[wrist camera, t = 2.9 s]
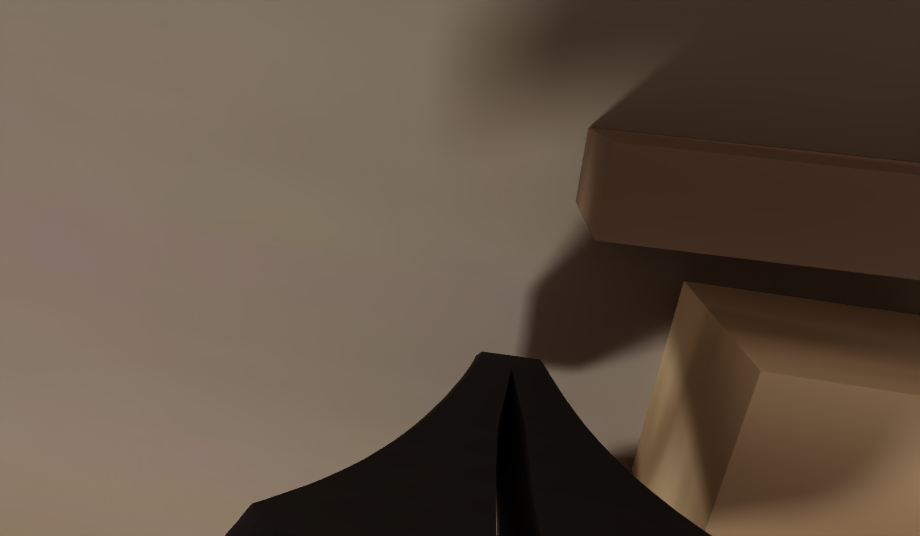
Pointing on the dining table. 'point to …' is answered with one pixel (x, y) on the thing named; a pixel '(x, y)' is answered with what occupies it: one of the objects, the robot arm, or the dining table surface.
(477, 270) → the dining table surface
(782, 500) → the oak block
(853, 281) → the dining table surface
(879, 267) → the walnut channel
